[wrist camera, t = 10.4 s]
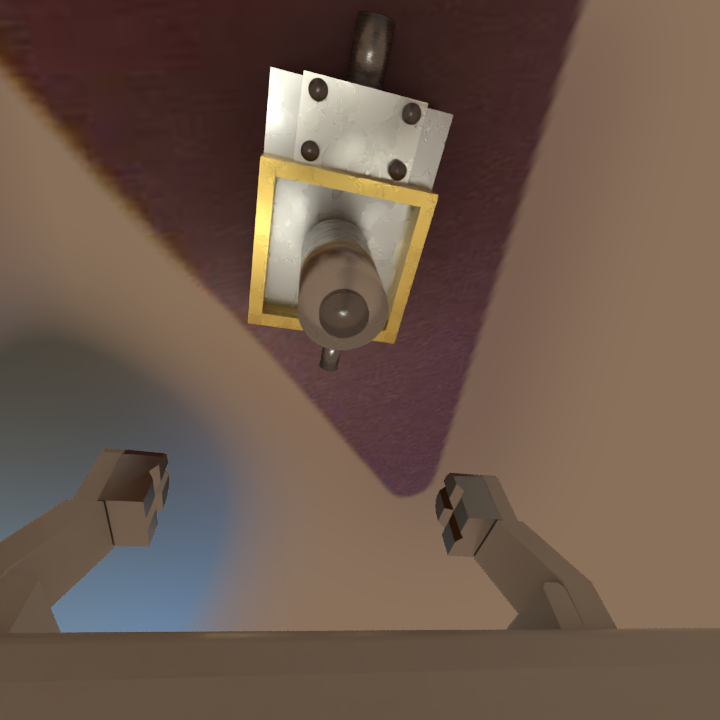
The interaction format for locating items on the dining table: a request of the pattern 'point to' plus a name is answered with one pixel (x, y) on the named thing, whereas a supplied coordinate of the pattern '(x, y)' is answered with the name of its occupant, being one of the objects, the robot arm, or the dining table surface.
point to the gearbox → (344, 175)
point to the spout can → (339, 290)
